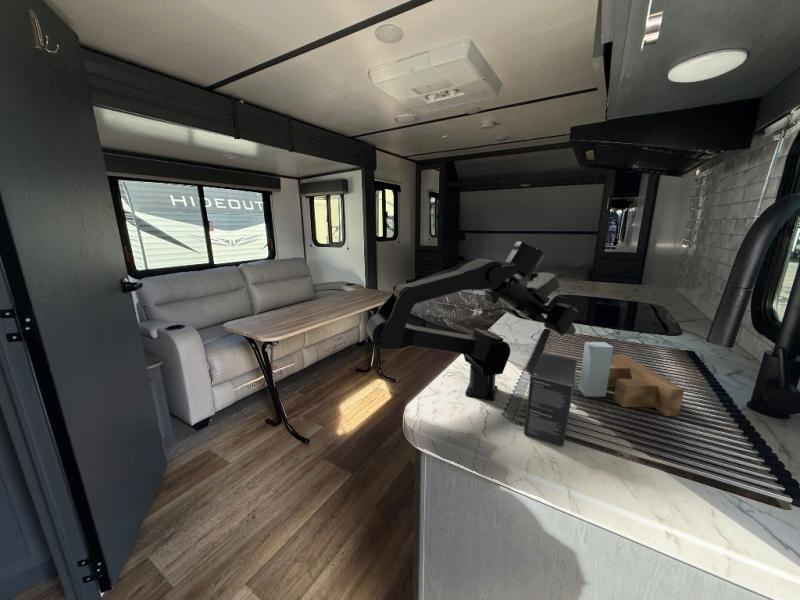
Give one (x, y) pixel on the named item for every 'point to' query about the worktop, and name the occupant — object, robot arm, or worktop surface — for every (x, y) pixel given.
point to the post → (595, 368)
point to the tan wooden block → (643, 387)
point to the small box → (550, 398)
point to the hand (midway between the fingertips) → (559, 326)
